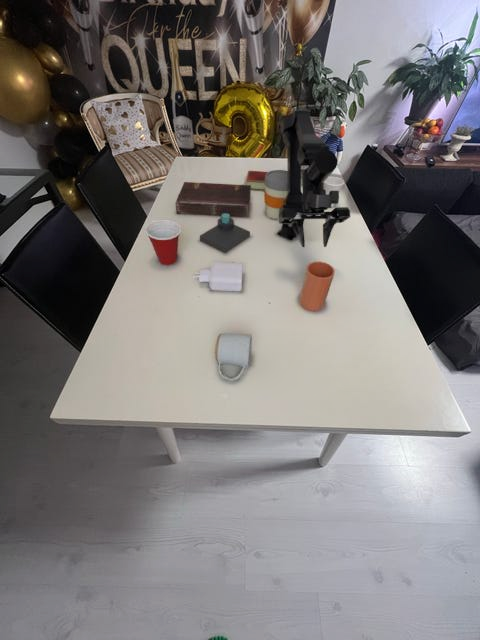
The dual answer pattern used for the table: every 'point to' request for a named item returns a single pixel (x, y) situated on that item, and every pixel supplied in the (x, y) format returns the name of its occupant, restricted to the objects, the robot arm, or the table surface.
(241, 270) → the charger
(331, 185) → the dixie cup
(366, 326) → the table surface
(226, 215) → the button
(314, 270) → the cup
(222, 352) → the ceramic mug
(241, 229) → the dark grey base plate
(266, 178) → the reusable coffee cup
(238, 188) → the hardback book
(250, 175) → the hardcover book
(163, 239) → the plastic cup
